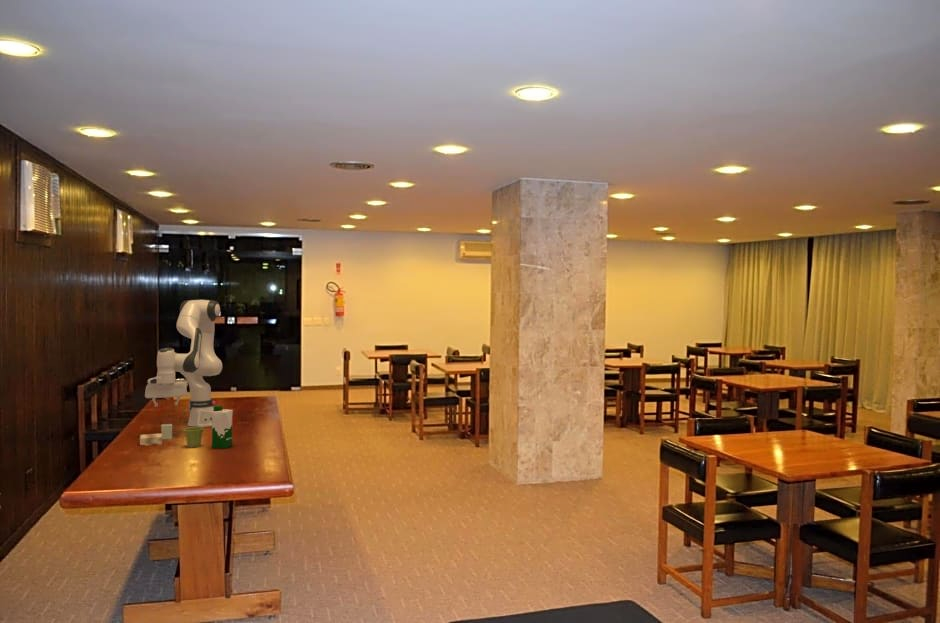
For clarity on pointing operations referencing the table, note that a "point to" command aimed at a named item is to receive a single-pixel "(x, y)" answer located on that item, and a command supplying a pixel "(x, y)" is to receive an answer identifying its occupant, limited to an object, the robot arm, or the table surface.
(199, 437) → the plant pot
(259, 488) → the table surface
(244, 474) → the table surface
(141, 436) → the birch block
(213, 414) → the milk carton
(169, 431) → the sage block
